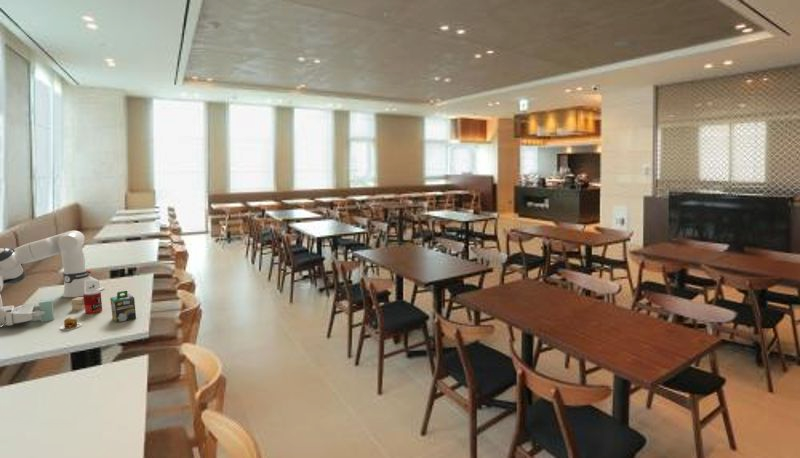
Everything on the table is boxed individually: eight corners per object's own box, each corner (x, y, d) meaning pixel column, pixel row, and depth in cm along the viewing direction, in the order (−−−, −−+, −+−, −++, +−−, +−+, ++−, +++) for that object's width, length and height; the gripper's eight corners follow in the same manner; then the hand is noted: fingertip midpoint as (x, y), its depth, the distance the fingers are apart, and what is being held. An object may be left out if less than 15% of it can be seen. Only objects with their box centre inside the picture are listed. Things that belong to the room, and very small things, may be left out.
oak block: (77, 307, 253) (76, 297, 252) (87, 307, 254) (86, 296, 253) (72, 310, 248) (71, 299, 248) (82, 310, 249) (81, 299, 248)
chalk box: (131, 314, 241) (129, 287, 239) (136, 318, 235) (134, 290, 233) (111, 318, 235) (109, 290, 233) (116, 323, 228) (113, 294, 226)
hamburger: (79, 322, 231) (78, 312, 230) (90, 327, 224) (89, 316, 224) (51, 329, 221) (50, 318, 221) (61, 334, 215) (60, 323, 214)
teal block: (41, 319, 234) (39, 300, 233) (54, 317, 237) (52, 298, 236) (41, 321, 230) (39, 302, 229) (53, 319, 233) (51, 301, 232)
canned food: (94, 314, 242) (92, 294, 240) (81, 313, 243) (79, 293, 242) (106, 310, 249) (104, 290, 248) (93, 309, 251) (91, 289, 249)
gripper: (13, 315, 234) (47, 310, 241) (7, 326, 217) (44, 321, 225) (11, 303, 233) (45, 298, 241) (6, 313, 216) (43, 308, 224)
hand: (45, 309), depth 233 cm, fingers open, 8 cm apart
